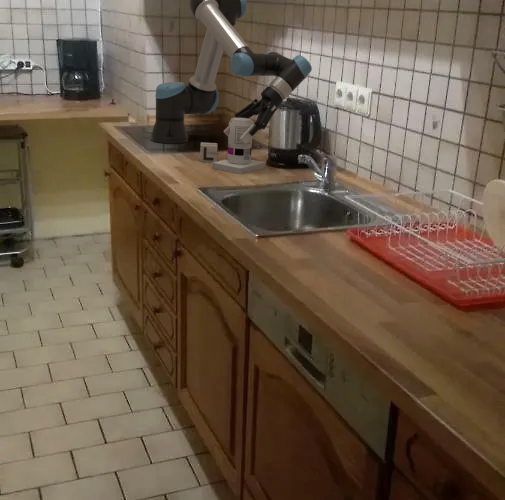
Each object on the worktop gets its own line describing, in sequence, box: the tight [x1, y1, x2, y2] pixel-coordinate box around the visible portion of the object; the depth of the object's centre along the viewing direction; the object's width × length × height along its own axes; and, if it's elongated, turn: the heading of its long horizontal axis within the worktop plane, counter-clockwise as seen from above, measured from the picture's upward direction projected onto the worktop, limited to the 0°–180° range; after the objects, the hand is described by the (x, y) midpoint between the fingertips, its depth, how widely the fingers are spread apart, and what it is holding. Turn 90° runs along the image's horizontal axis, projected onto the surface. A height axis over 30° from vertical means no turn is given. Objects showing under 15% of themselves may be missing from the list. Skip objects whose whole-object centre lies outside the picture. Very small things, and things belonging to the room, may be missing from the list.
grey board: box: [211, 159, 266, 175], centre depth 236 cm, size 15×12×2 cm
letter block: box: [199, 142, 218, 164], centre depth 245 cm, size 6×6×6 cm
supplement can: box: [227, 117, 254, 164], centre depth 234 cm, size 8×8×15 cm
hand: (234, 137), depth 232 cm, fingers open, 13 cm apart
